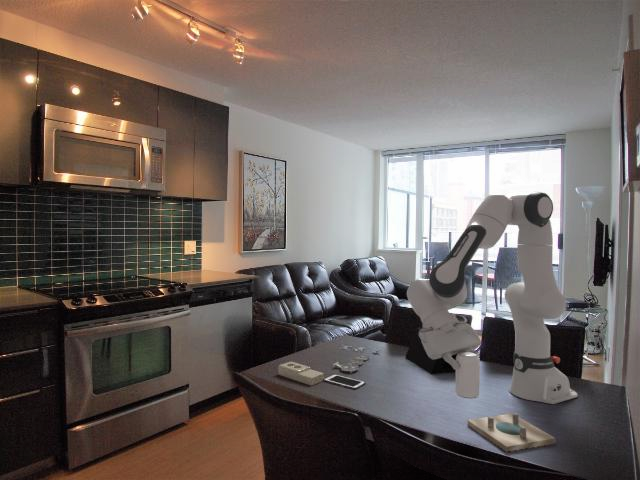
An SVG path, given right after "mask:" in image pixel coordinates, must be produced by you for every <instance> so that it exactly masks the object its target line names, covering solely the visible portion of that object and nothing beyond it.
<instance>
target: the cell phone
mask: <svg viewBox="0 0 640 480" xmlns="http://www.w3.org/2000/svg"><path fill="white" fill-rule="evenodd" d="M323 382H325V383H329V384H332V385H336V386H340V387H343V388H346V389H351V390H354V391H355V390H358V389H360V388H362V387H364V386H365V385H366V381H364V380H359V379H356V378H351V377H347V376H344V375H339V374H336V373H335V374H331V375H329V376H327V377H324V381H323Z"/></svg>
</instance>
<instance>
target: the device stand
mask: <svg viewBox="0 0 640 480" xmlns="http://www.w3.org/2000/svg"><path fill="white" fill-rule="evenodd" d="M421 329H425V327H424V325H423V324H422V327H417V328H415V332H414V335H413V337H412V338H411V339H412V340H411V342H410V345H409V347H408V349H407V351H406V354H405V358H406V359H407V360H408V361H411V362H412V363H413V364H415V365H417V366H418V367H419V368H421V369H423V370H424V371H426V372H427V373H429V374H430V375H439V374H441V375H442V374H448V373H449V374H451V373H456V370H454V369H453V367H452V366H451V365H450V364H449V363H448V362H446V361H445V360H444V358H443V357H442V358H438V359H434V360H433V359H431V358H430V357H429V356H428V355H427V353H426V351H425V349H424V347H423V344H422V341H421V339H420V337H419V331H420V330H421ZM456 356H457V354H454V355H452V356H451V357H452V358H453V359H454V360H455V361H456Z"/></svg>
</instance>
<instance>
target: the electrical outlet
mask: <svg viewBox="0 0 640 480" xmlns="http://www.w3.org/2000/svg"><path fill="white" fill-rule="evenodd" d="M277 372H278V373H277V375H279V376H282V377H284V378H287V379H291V380H293V381H297V382H300V383H303V384H306V385H309V386H315V385H316V384H319V383H321V382H324V379H325V373H324V372H321V371H318V370H313V369H311V367H310V366H307V365H305V364H300V363H297V362H296V361H295V362H294V361H288V362H285V363H281V364H279V365H278V371H277Z"/></svg>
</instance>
